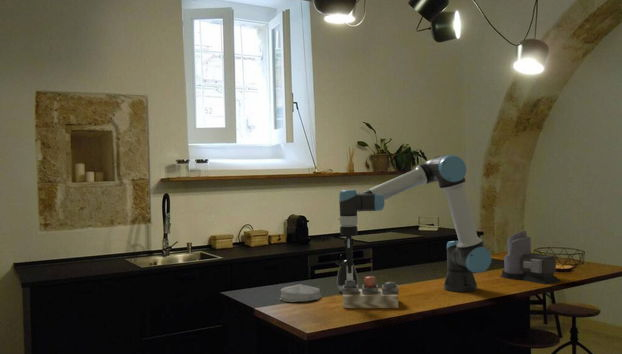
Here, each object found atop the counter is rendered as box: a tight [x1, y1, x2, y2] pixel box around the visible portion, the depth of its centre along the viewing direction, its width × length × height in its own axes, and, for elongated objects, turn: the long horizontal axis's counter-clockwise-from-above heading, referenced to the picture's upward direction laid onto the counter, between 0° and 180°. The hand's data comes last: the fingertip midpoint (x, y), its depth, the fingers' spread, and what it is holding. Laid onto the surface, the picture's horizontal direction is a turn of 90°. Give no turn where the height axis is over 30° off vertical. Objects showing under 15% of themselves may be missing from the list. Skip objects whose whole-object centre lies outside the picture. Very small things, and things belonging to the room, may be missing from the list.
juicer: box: [499, 230, 562, 285], centre depth 281 cm, size 30×16×24 cm, turn 32°
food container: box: [279, 283, 323, 303], centre depth 250 cm, size 20×20×7 cm
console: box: [341, 284, 400, 309], centre depth 235 cm, size 24×14×8 cm, turn 84°
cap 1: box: [345, 280, 355, 288], centre depth 236 cm, size 4×4×4 cm
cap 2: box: [384, 281, 396, 288], centre depth 234 cm, size 4×4×4 cm
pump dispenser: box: [335, 259, 359, 292], centre depth 261 cm, size 10×10×15 cm
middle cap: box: [364, 275, 376, 288], centre depth 235 cm, size 4×4×4 cm
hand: (349, 280), depth 236 cm, fingers closed
